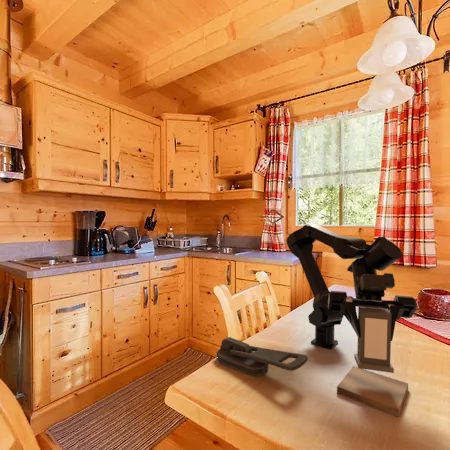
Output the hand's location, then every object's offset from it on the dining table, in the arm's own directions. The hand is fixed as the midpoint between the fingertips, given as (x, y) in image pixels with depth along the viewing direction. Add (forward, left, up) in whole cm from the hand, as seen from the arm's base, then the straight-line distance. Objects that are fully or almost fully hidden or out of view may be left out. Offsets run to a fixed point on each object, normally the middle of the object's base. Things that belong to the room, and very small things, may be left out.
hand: (375, 338), depth 63 cm
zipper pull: (+8, -25, -13) cm, 30 cm away
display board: (-1, 0, -13) cm, 13 cm away
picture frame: (-1, -1, -7) cm, 7 cm away
